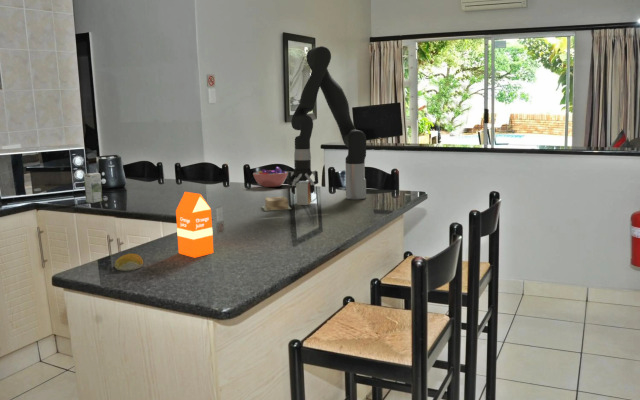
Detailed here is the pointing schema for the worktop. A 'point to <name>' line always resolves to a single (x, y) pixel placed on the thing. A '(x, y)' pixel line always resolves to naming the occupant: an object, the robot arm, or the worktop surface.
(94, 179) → the syrup box
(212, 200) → the worktop surface
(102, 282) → the worktop surface
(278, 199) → the oak block
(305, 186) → the small box
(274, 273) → the worktop surface
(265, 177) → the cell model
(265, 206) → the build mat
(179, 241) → the orange juice
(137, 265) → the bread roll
